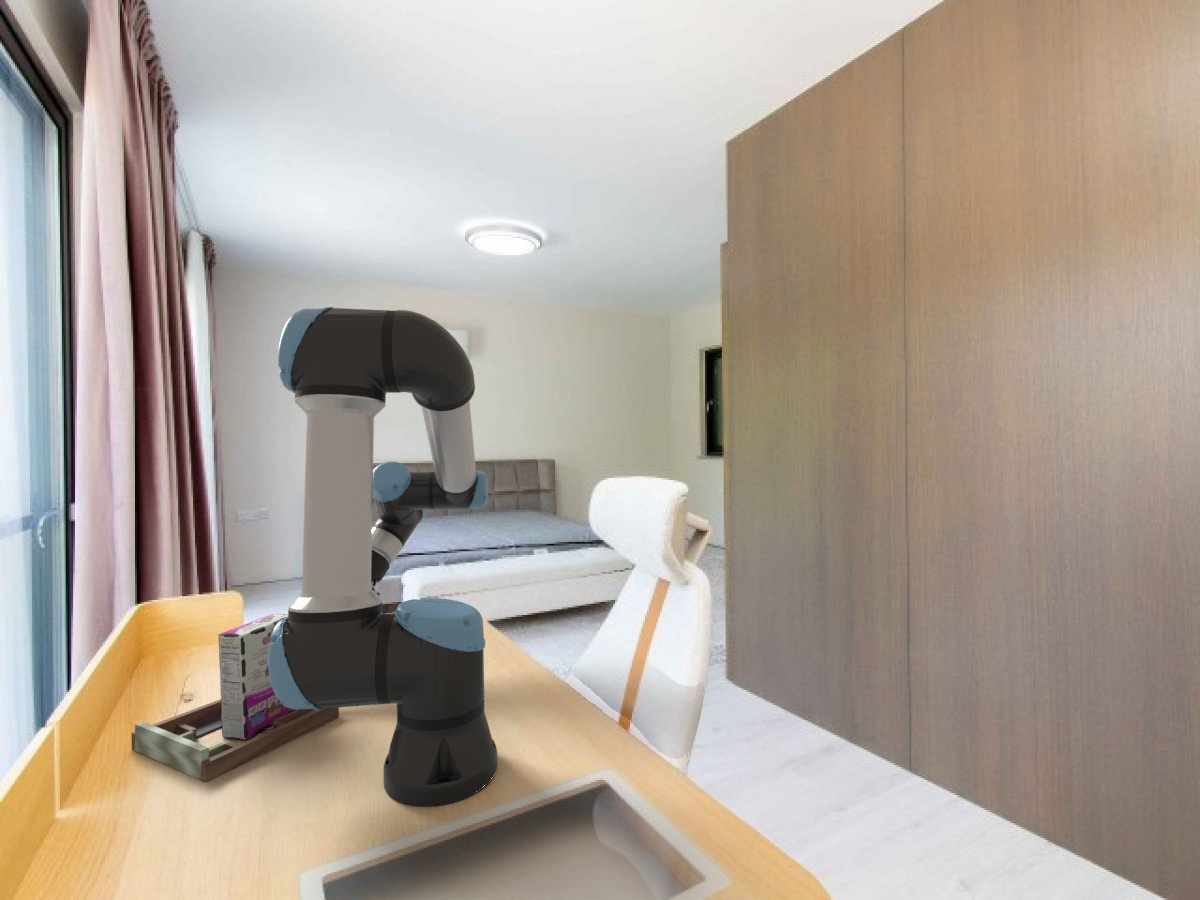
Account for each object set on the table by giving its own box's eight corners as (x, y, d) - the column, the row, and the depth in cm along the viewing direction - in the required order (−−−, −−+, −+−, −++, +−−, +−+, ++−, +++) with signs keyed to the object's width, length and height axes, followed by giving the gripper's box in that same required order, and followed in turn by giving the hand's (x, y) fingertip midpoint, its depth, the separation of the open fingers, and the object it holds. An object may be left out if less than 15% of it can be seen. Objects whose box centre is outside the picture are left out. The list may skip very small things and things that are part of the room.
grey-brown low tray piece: (338, 717, 97) (338, 693, 97) (205, 782, 78) (205, 752, 78) (267, 695, 105) (267, 673, 105) (131, 749, 87) (131, 722, 87)
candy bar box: (274, 706, 101) (272, 612, 101) (299, 709, 100) (297, 614, 100) (218, 738, 90) (216, 632, 90) (245, 741, 89) (243, 634, 89)
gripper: (408, 570, 115) (336, 685, 100) (362, 564, 121) (288, 671, 106) (387, 547, 110) (308, 664, 96) (340, 542, 116) (259, 652, 102)
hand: (298, 668), depth 101 cm, fingers closed
